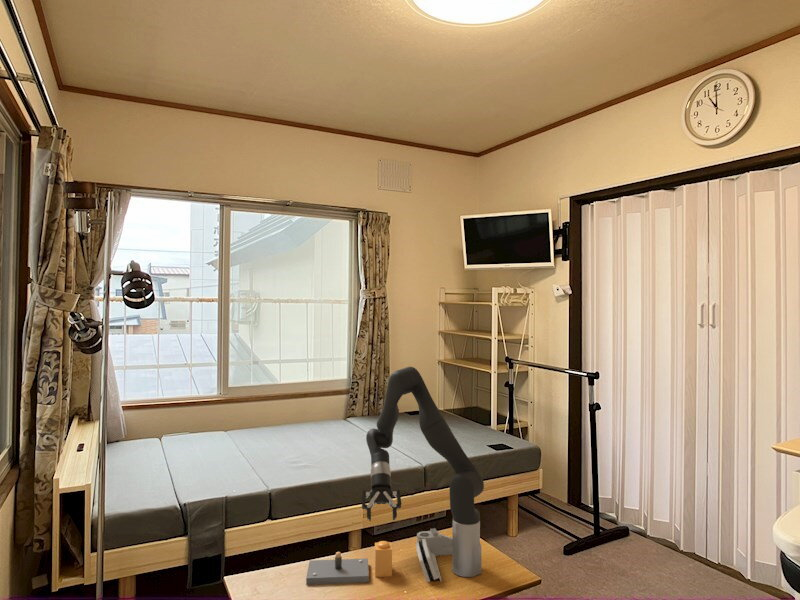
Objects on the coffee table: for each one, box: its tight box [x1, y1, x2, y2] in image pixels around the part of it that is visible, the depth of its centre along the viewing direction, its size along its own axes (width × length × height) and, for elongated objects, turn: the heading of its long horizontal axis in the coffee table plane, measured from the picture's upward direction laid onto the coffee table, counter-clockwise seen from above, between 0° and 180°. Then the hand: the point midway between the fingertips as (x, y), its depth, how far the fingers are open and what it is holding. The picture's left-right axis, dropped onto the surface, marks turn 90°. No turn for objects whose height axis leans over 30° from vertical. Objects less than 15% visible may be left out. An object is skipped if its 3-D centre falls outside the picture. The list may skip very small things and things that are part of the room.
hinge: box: [415, 539, 443, 583], centre depth 181 cm, size 17×5×10 cm, turn 3°
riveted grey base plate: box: [305, 551, 370, 585], centre depth 178 cm, size 20×12×7 cm, turn 95°
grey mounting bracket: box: [416, 527, 453, 557], centre depth 194 cm, size 6×18×8 cm, turn 101°
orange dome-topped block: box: [374, 540, 393, 578], centre depth 179 cm, size 6×6×10 cm
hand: (382, 519), depth 189 cm, fingers open, 8 cm apart
